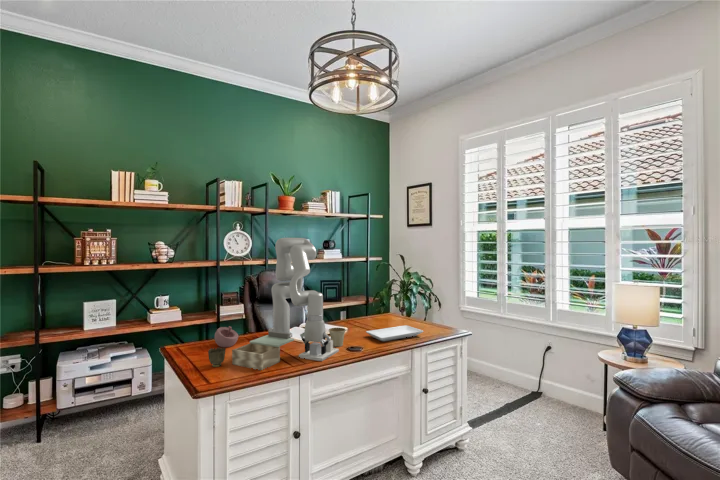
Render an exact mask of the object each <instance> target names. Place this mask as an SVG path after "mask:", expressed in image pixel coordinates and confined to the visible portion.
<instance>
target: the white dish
mask: <svg viewBox="0 0 720 480" xmlns="http://www.w3.org/2000/svg"><path fill="white" fill-rule="evenodd" d="M321 347H322V345H321ZM339 352H340V348H337V347H336V348H335V347H333V350H332V351H331V352H326V353H325V354H323V355H322V354H319V355H317V356H316V355H310V351H308V352H305V351H304V352H301V353H299V354H298V358H299V357H300V359H304V358H305V359H306V360H310V361H318V362H323V361H326V359H329V358H330V357H332V356H334V355H335V354H337V353H339Z"/></svg>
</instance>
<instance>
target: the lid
mask: <svg viewBox="0 0 720 480" xmlns="http://www.w3.org/2000/svg"><path fill="white" fill-rule="evenodd" d="M293 341H295V338H291V337H290V334H289V333H282V332H274V331H269V332H268V334H267V335H263V336H260V337H258V338H254V339H252V340H249V343H248V344H250V343H253V344H260V345H266V346H273V347H280V348H281V347H282V346H284V345H286V344H289V343H291V342H293Z"/></svg>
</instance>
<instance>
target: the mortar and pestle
mask: <svg viewBox="0 0 720 480" xmlns="http://www.w3.org/2000/svg"><path fill="white" fill-rule="evenodd" d="M232 328H233V327H232V326H230V325H229V326H228V327H227V326H220V327H219V328H217V329H216V330H215V333H214V342H215V344H217V346H218V347H220V348H222V347H223V348H231V347H233V346H234V345H235V344H236V343H237V342H238V339H239V334H238V332H237V331H235V330H234V329H232Z"/></svg>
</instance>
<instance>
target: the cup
mask: <svg viewBox="0 0 720 480" xmlns="http://www.w3.org/2000/svg"><path fill="white" fill-rule="evenodd" d="M226 351H227V350H226V347H220V346H218V347H216V348H215V347H214V348H210V349H208V350H207V355H208V361H209V362H210V364H211V366H212V367H213V368H219V367H221V366H222V364H223V363H224V361H225V357H226Z"/></svg>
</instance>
